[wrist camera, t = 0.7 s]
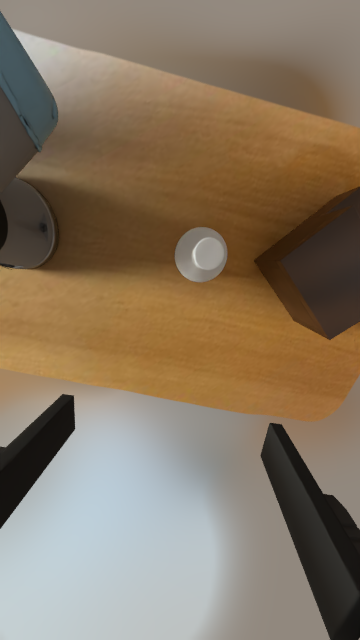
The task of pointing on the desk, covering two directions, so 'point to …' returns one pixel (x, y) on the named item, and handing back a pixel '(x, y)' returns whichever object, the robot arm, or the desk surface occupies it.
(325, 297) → the stepped brown block
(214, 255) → the bath foam
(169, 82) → the desk surface
